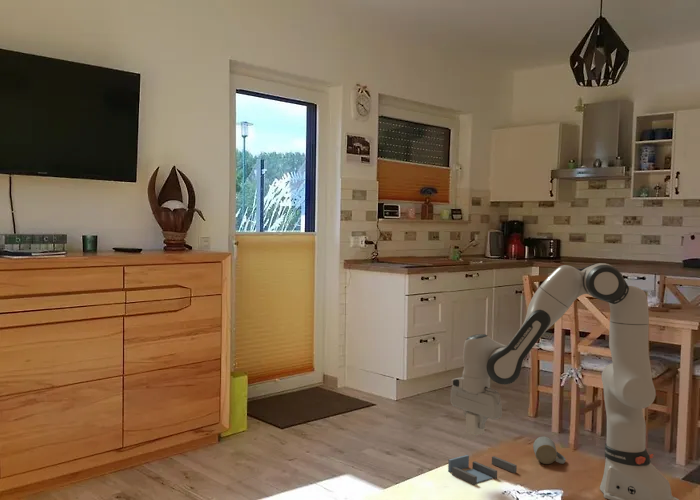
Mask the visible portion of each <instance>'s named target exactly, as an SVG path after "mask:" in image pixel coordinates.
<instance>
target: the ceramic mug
mask: <svg viewBox="0 0 700 500" xmlns="http://www.w3.org/2000/svg"><path fill="white" fill-rule="evenodd" d="M532 445H533V447H532V448H533V452H534V454H535V457H536V460H537V461H538V462H539V463H541V464H544V465H551V464H553V463H554V462H556V463H558V464H560V465H561V464H562V465H564V464H565V462H566V457H565V456H564V455H562V454H561V453H560V452H558V451H557V448H556V444H555V441H553V439H552V438H549V437H548V436H539V437H537V438H536V439H535V440H534V442H533V444H532Z"/></svg>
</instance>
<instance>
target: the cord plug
mask: <svg viewBox="0 0 700 500" xmlns="http://www.w3.org/2000/svg"><path fill="white" fill-rule="evenodd" d="M480 421H481V419H480V415H478V414H475V413H472V412H468V413H466V418H465V433H466V434H468V435H471V436H473V437H475V436H476V437H477V436H481V435H484V434H485V428H484V429H480V428H478V423H479V422H480Z"/></svg>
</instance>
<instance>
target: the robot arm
mask: <svg viewBox="0 0 700 500" xmlns="http://www.w3.org/2000/svg"><path fill="white" fill-rule="evenodd" d="M583 295H588V296H591V297H592V298H595V299H597V300H600V301H603V302H606V303H608V306H609V311H610V312H609V334H608V337H609V338H608V341H609V342H608V346H609V347H608V348H609V351H610V356H611V363H609V364H608V365H605V367H604V368H603V370H602V372H601V376H600V377H601V383H602V389H603V398H604V399H603V400H604V407H605V413H606V443H604V459H605V463H604V469H603V475H602V479H601V482H600V486H599V489H600V492H602V493H603V498H604V499H608V500H680V499H679V498H677V497H675V496H674V495H672V489H671V484H670V482H669V480H668V479H667V478H666V477H665V476H664V475H663V474H662V473H661V472H660V471H659V470H658V469H657V468H656V467H655V466H654V465H653V464H652V461H651V459H653V458H654V453H651V454H649V452H648V450H647V448H646V434H647V433H646V431H647V430H646V428H647V426H646V424H647V423H646V420H645V417H644V412H643V409H647V408H648V407H649V406H651V405H652V404H653V403H654V401H655V399H656V396H657V394H656V388H655V385H654V381H653V375H652V365H651V361H650V360H651V359H650V354H649V331H650V329H649V328H650V326H649V324H650V319H649V318H650V316H649V315H650V314H649V304H648V298H647V294H646V292H645V291H644V290H643V289H641V288H639V287H637V286H634V285H628V283H627V282H626V280H625V278H624V276H623V274H622V273H621V271H620V270H619V269H618V268H616V267H614V266H613V265H611V264H609V263H605V262H599V263H593V264H589V265H588V266H585V267H582V268H581V269H578V268H576V267H574V266H571V265H567V264H564V265H560V266H558V267H557V268H556V269H555V270H553V272H552V273H551V274H549V275H548V276H547V277H546V279H545V280H544V281H543V282H542V283H541V284H540V286H539V287H538V288H537V289H536V291H534V294H533V296H532V298H531V300H530V301H529V304H528V305H527V310H526V315H525V318H524V321H523V323H522V325H521V327H520V328H519V330H518V331H517V332H516V333H515V335H514V336H513V337H512V339H511V340H510V341H509V343H508V344H503V343H501V342H499V341H497V340H494V339H493V338H491V337H490V336H489V335H488V334H486V333H484V334H483V333H479V334H473V335H470V336H468V337H467V338H466V339H465V340H464V343H463V350H462V351H463V352H462V363H463V364H462V365H463V370H462V375H461V376H460V377H456V378H452V379H451V380H450V381H451V382H450V383H451V385H452V386H451V387H450V403H451V405H452V407H454V408H457V409H460V410H462V411H463V412H462V413H463V416H464V418H465V419H466V413H468V412H472V413H475V414H478V415H480V419H481V421H480V422H479V423H478V428H480V429H484V430H485V428H486V427H485V425H486V422H487V420H488V419H490V420H498V419H501V418H502V416H503V411H502V410H503V407H502V399H501V394H500V393H499V392H498V391H497V389H495V388H492V387H490V386H491V380H492V381H493V382H494V383H496V384H499V385H509V384H512V383H514V382H515V381H517V379H518V378H519V376H520V374H521V370H522V365H523V363H524V360H525V358H526V357H527V356H528V354H529V353H530V352H531V350H532V348H534V346H535V345H536V344H537V342H538V341H539V340H540V338H541V337H542V336H543V335H544V334H545V333H546V332H547V331H549V329H550V328H551V327H552V326H553V325H554V324H556V323H557V322H558V321H559V320H560V319H561V318H562V317H563V316H564V315H565V314H566V312H567V311H568V310H569V308H571V306H573V304H574V302H575V301H576V300H577V299H579V297H581V296H583Z"/></svg>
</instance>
